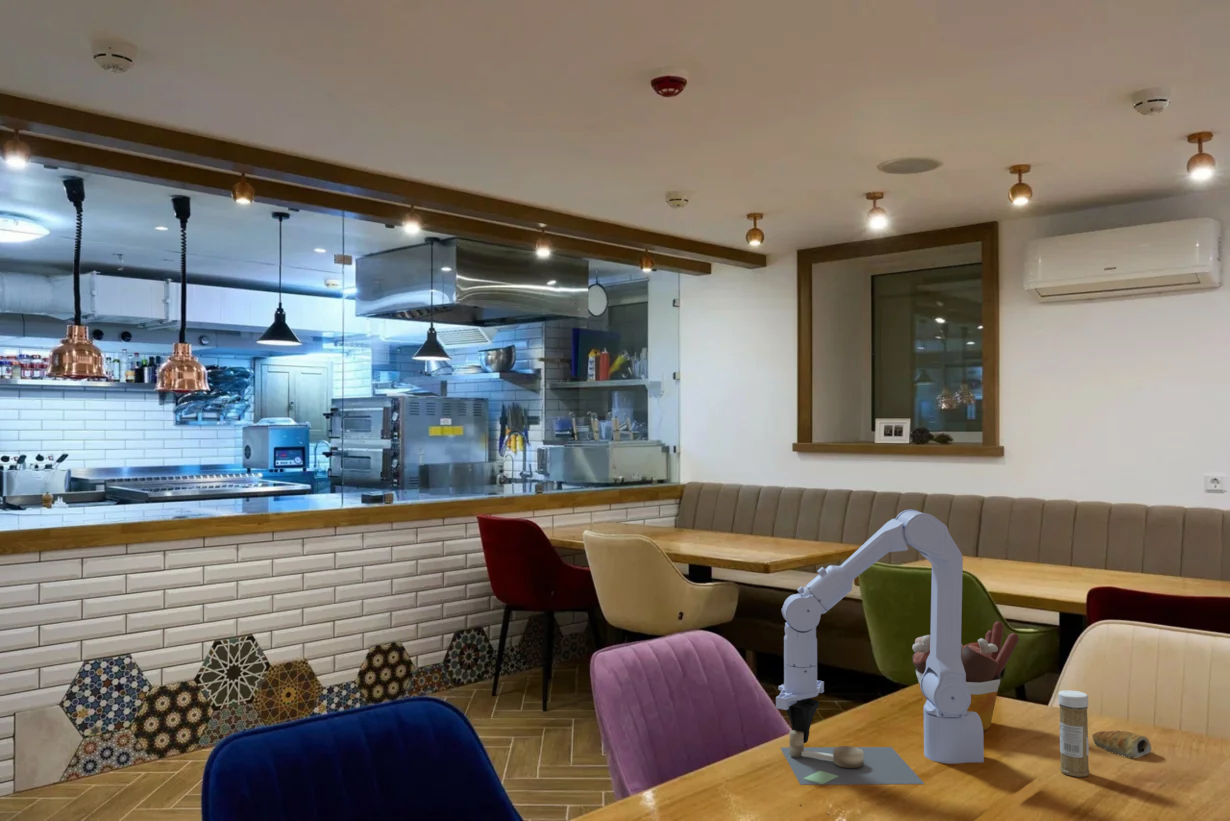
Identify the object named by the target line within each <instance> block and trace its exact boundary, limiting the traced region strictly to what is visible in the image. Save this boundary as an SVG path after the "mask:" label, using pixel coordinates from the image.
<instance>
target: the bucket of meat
mask: <svg viewBox="0 0 1230 821" xmlns="http://www.w3.org/2000/svg"><path fill="white" fill-rule="evenodd" d="M1004 629H1005V628H1004V624H1003V623H1002V622H1001V621H995V622H994V623H993V624H992V630H991V629H988V631H987V632H986V633H985V638H982V637H980V638H979V639H977V642H970V643H967V644H965V645H963V643H962V642H961V661H962V664H963V667H964V670H965V673H966V684H967V687H968V689H969V691H970V694H971V703H970V706H969V708H968V709H967V711H971V712H976V713H977V714H978V715H979V717H980V719H981V722H982V726H983V732H984V731H985V730H986V731H987V730H988V729H989V728H990V727H991V725H992V720H993V715H994V710H995V706H996V700H997V697H998V691H999V687H1000V684H1001V676H1002V672H1003V670H1004V669H1005V667H1006V665H1007V664H1008V662H1009V660H1010V658H1011V656H1012V654H1013V652H1014V650H1015V649H1016V646H1017V645H1018V643H1019V640H1020V638H1019V634H1017V633H1016V632H1015V633H1014V632H1012V633H1010V634H1008V635H1007V638H1006V639H1005V641H1004V644H1003V645H1002V642H1003V641H1002V640H1003V635H1004ZM911 649H912V651H913V652H914V653H913V655H912V664H913V666H914V667H915V674H916V677H917V681H918V684H919V688H920V694H921V698H922V702H923V706H924V705H925V703H926V700H927V698H926V697H925V696H924V694H923V693H922V691H921V687H920V681H921V677H922V675H923V674H924V672H925V669H926V660H927V658H928V656H929V654H930V634H926V635H923V636H919V637H917V638H915V640H914V643H913V644H912V648H911Z"/></svg>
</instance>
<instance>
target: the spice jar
mask: <svg viewBox="0 0 1230 821" xmlns="http://www.w3.org/2000/svg"><path fill="white" fill-rule="evenodd" d="M1058 706H1059V752H1060V766H1059V770H1060V772H1062V773H1063V774H1065V775H1068V776H1070V777H1074V778H1075V777H1077V778H1083V777H1084V778H1085V777H1088V776H1089V774H1090V769H1089V764H1090V763H1089V755H1090V750H1089V748H1090V746H1089V736H1088V735H1089V733H1088V732H1089V730H1088V729H1089V728H1088V726H1089V724H1088V722H1089V721H1088V720H1089V719H1088V706H1089V695H1088V694H1087V693H1085V692H1082V691H1078V690H1070V689H1069V690H1067V689H1065V690H1061V691H1059V692H1058Z"/></svg>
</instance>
